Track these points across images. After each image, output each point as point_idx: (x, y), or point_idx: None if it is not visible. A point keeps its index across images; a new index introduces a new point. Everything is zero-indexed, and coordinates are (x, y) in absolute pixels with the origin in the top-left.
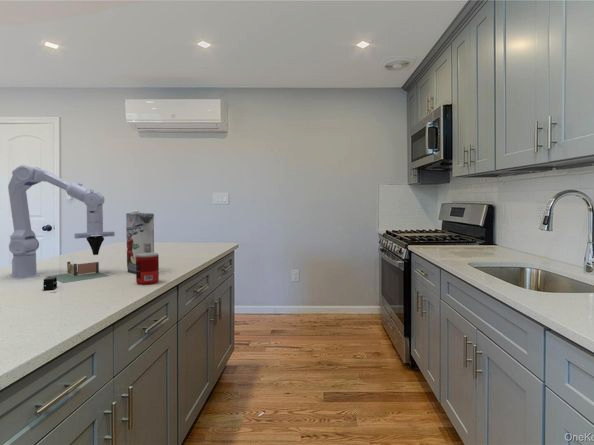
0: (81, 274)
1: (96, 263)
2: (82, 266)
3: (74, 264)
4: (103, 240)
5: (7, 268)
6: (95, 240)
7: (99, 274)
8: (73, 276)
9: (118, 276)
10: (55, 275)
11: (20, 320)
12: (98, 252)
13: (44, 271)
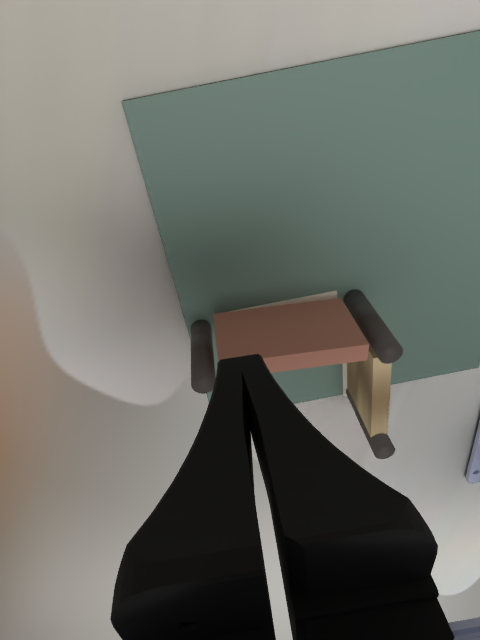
0: None
1: (210, 369)
2: (327, 334)
3: (398, 343)
4: (135, 534)
5: (471, 581)
6: (317, 512)
7: (204, 235)
8: (378, 269)
9: (50, 48)
10: (436, 362)
11: None
12: (219, 373)
13: (410, 492)
